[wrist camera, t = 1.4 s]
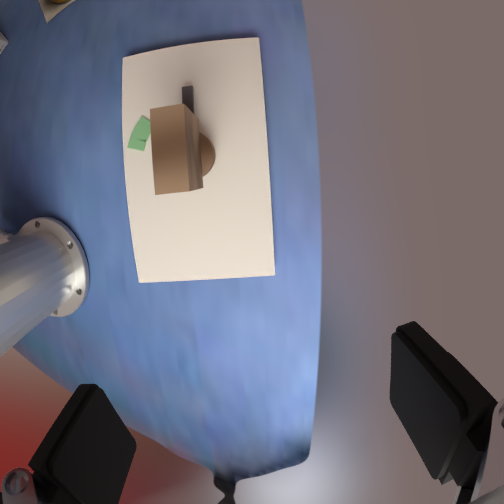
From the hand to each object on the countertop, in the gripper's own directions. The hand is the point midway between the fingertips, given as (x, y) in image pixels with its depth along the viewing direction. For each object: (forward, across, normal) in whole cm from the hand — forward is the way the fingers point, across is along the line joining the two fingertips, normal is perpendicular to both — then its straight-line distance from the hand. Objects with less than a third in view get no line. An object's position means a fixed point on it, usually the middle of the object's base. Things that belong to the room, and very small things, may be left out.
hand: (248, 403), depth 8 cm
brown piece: (+21, +3, -11) cm, 24 cm away
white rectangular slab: (+23, +3, -9) cm, 25 cm away
